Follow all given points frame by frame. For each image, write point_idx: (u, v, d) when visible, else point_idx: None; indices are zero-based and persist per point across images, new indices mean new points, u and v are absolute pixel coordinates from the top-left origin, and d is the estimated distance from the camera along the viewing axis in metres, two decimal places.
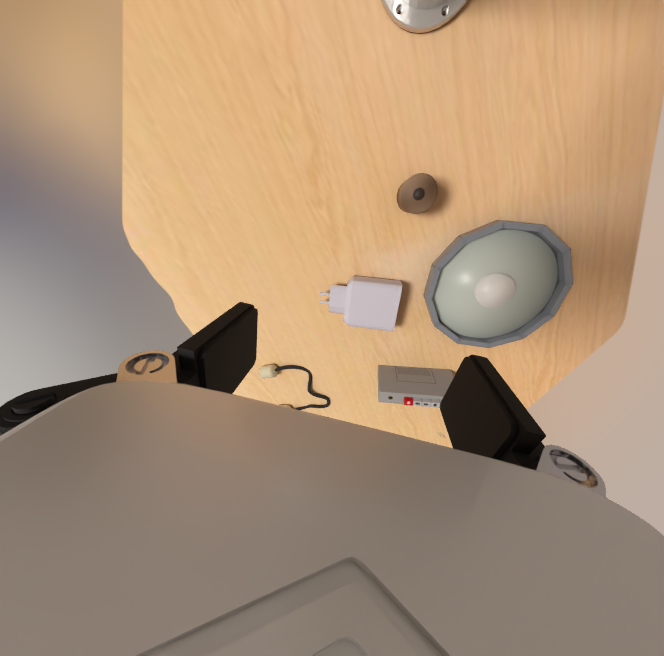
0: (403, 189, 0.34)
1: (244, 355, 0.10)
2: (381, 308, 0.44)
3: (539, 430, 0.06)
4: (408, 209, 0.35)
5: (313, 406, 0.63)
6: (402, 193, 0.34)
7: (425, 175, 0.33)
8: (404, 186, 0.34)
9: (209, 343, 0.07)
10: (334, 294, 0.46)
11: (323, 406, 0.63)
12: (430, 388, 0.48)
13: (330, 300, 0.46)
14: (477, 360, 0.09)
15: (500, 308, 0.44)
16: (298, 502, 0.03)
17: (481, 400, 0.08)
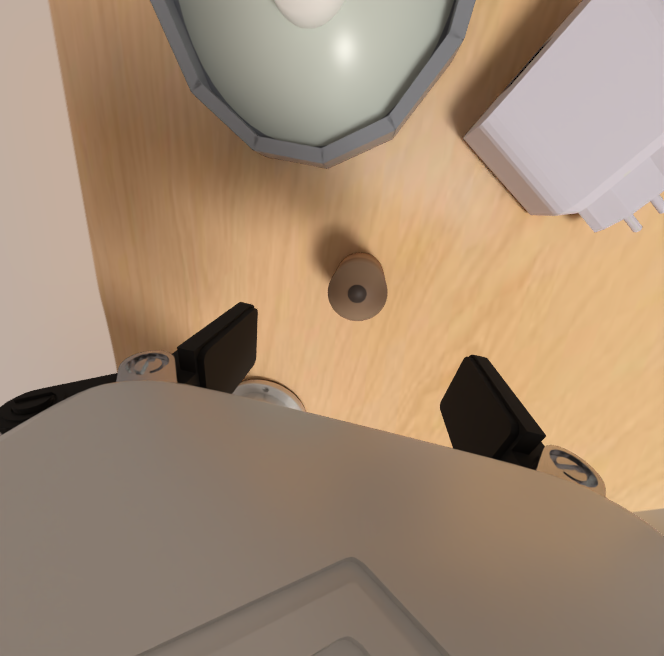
0: (372, 313, 0.21)
1: (244, 355, 0.10)
2: (582, 84, 0.14)
3: (539, 430, 0.06)
4: (382, 283, 0.20)
5: None
6: (377, 310, 0.21)
7: (336, 309, 0.21)
8: (369, 316, 0.21)
9: (209, 343, 0.07)
10: (622, 208, 0.18)
11: None
12: None
13: (647, 199, 0.17)
14: (477, 360, 0.09)
15: None
16: (298, 502, 0.03)
17: (481, 400, 0.08)
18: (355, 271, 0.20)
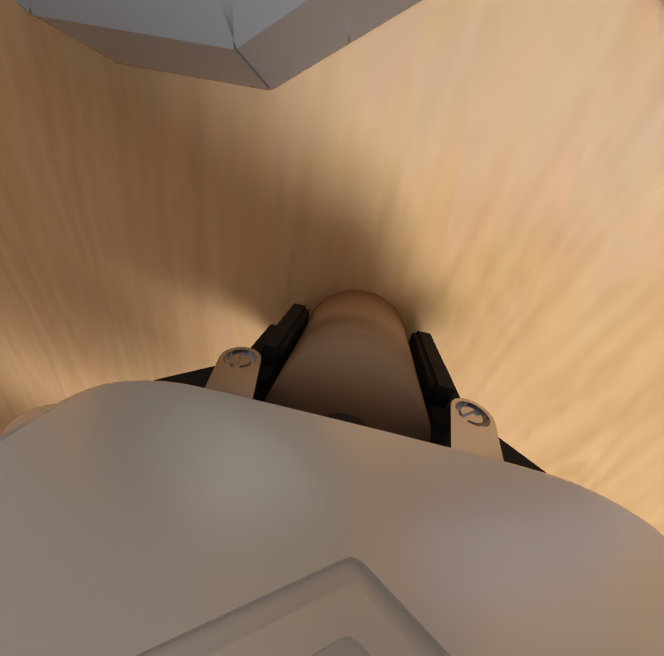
0: None
1: None
2: None
3: (451, 385, 0.08)
4: (418, 418, 0.07)
5: None
6: None
7: None
8: None
9: (284, 341, 0.08)
10: None
11: None
12: None
13: None
14: (420, 335, 0.10)
15: None
16: (298, 502, 0.03)
17: (416, 367, 0.09)
18: (335, 382, 0.06)
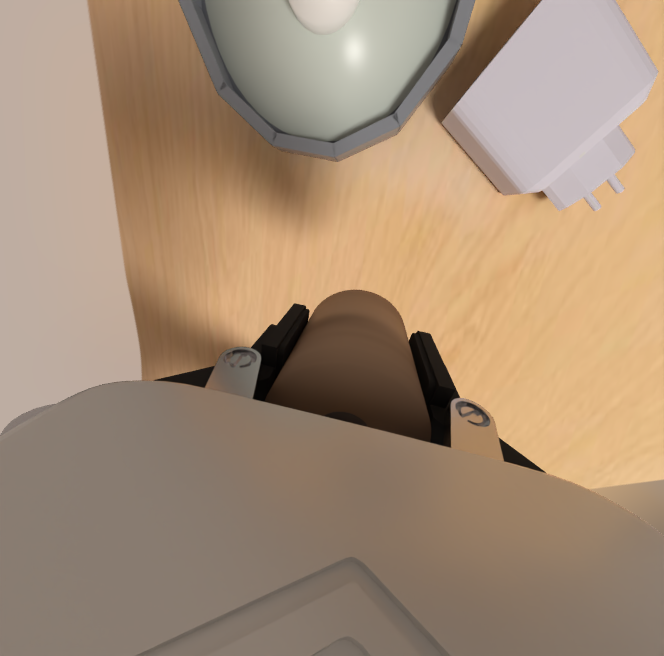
0: None
1: None
2: (539, 73, 0.16)
3: (451, 385, 0.08)
4: (419, 416, 0.07)
5: None
6: None
7: None
8: None
9: (284, 341, 0.08)
10: (581, 188, 0.20)
11: None
12: None
13: (603, 179, 0.19)
14: (420, 335, 0.10)
15: None
16: (298, 502, 0.03)
17: (416, 367, 0.09)
18: (335, 380, 0.06)
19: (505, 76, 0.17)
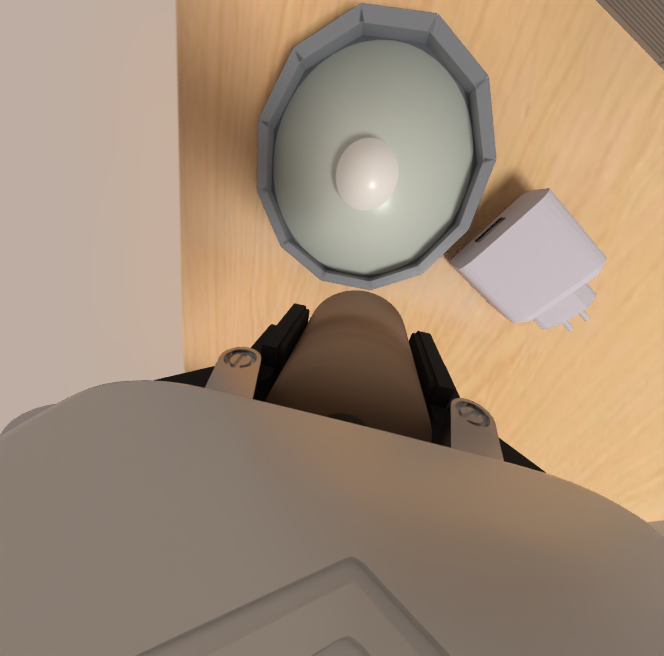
0: None
1: None
2: (522, 255, 0.23)
3: (451, 385, 0.08)
4: (419, 418, 0.06)
5: None
6: None
7: None
8: None
9: (284, 341, 0.08)
10: (557, 319, 0.26)
11: None
12: None
13: (573, 315, 0.25)
14: (420, 335, 0.10)
15: (369, 124, 0.23)
16: (298, 502, 0.03)
17: (416, 367, 0.09)
18: (336, 382, 0.06)
19: (498, 256, 0.23)
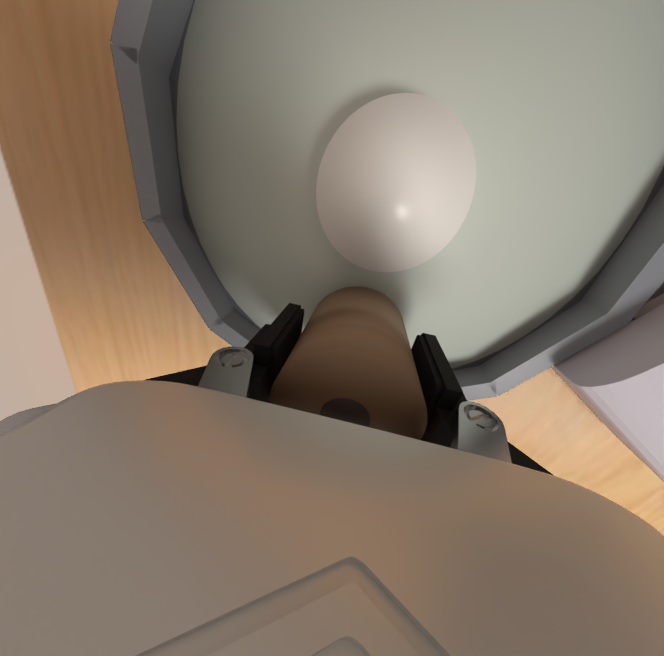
0: None
1: None
2: None
3: (458, 388, 0.07)
4: (416, 402, 0.07)
5: None
6: None
7: None
8: None
9: (277, 340, 0.08)
10: None
11: None
12: None
13: None
14: (425, 337, 0.10)
15: (401, 60, 0.09)
16: (298, 502, 0.03)
17: (422, 370, 0.09)
18: (338, 368, 0.07)
19: None
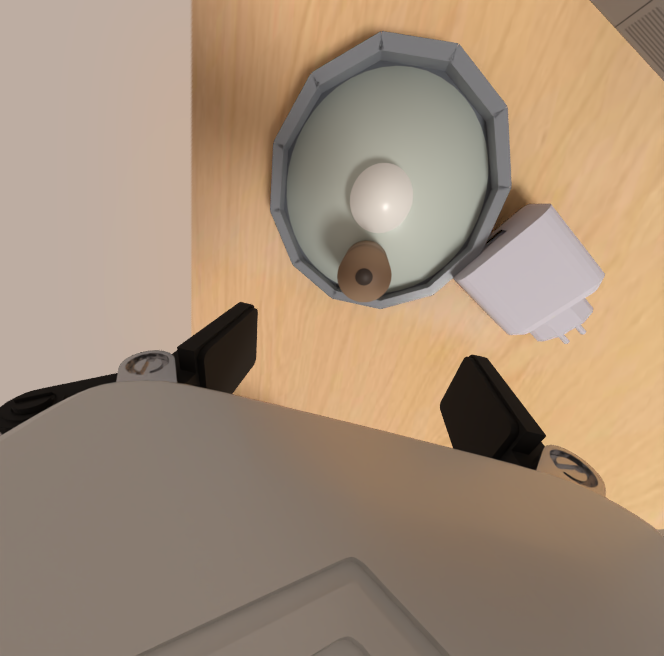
0: (378, 295, 0.23)
1: (244, 355, 0.10)
2: (521, 270, 0.22)
3: (539, 430, 0.06)
4: (387, 267, 0.22)
5: None
6: (382, 292, 0.23)
7: (345, 291, 0.23)
8: (375, 297, 0.23)
9: (209, 343, 0.07)
10: (553, 332, 0.26)
11: None
12: None
13: (569, 328, 0.25)
14: (477, 360, 0.09)
15: (384, 148, 0.23)
16: (298, 502, 0.03)
17: (481, 400, 0.08)
18: (362, 256, 0.21)
19: (496, 269, 0.23)
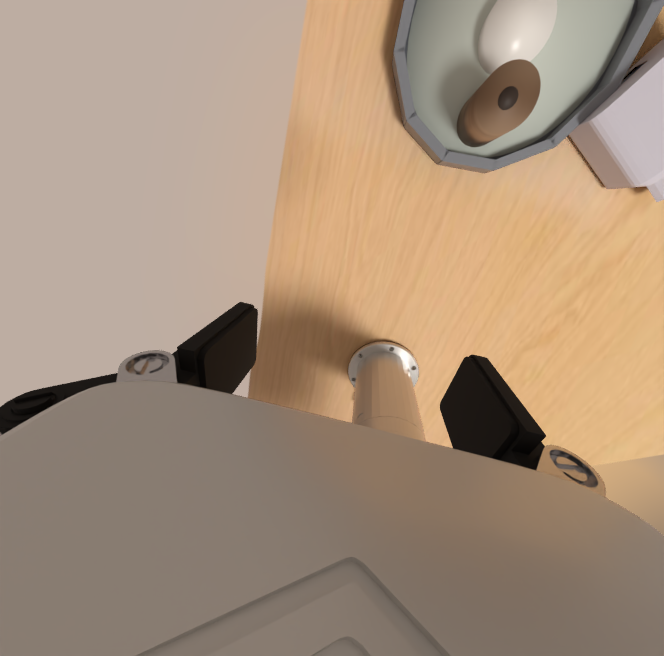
0: (519, 122, 0.22)
1: (244, 355, 0.10)
2: None
3: (538, 430, 0.06)
4: (537, 82, 0.21)
5: None
6: (524, 117, 0.22)
7: (482, 121, 0.22)
8: (514, 125, 0.22)
9: (209, 343, 0.07)
10: None
11: None
12: None
13: None
14: (477, 360, 0.09)
15: None
16: (298, 502, 0.03)
17: (481, 400, 0.08)
18: (512, 69, 0.21)
19: (640, 97, 0.22)
